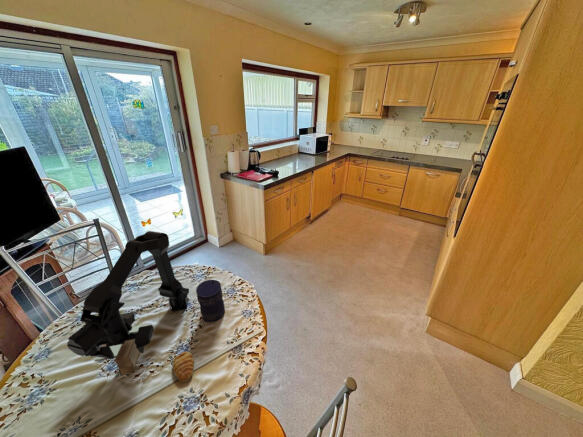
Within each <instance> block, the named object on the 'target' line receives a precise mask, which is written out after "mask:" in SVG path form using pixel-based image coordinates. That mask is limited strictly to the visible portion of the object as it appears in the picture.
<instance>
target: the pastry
mask: <svg viewBox="0 0 583 437" xmlns="http://www.w3.org/2000/svg"><path fill="white" fill-rule="evenodd" d="M172 362H173V364H172V369H173V373H174V374H175V375H176V377H177V380H179V381H180V382H181V383H186V382H187V381H189V380H190V379H191V378H192V376H193V374H194V368H195V360H194V357H193V353H192V352H190V351H182V352H180V353H178V355H176V356H175V357H174V359H173V361H172Z"/></svg>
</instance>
